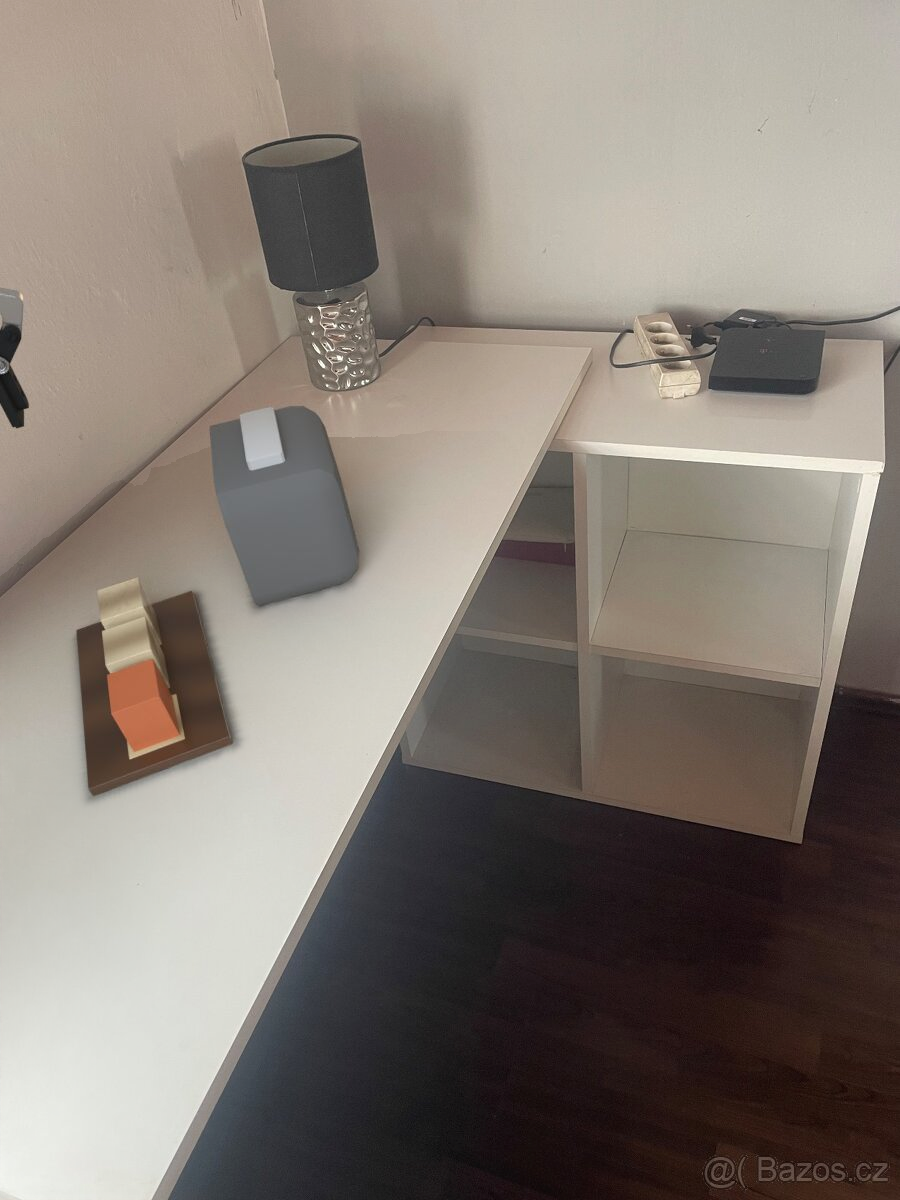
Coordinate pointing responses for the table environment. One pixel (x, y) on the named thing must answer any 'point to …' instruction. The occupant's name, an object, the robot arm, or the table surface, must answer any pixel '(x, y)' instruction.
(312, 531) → the alarm clock
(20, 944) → the table surface
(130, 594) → the beige wooden cube
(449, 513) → the table surface
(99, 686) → the word board
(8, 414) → the robot arm
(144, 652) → the cream wooden block
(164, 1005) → the table surface
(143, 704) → the terracotta orange cube
